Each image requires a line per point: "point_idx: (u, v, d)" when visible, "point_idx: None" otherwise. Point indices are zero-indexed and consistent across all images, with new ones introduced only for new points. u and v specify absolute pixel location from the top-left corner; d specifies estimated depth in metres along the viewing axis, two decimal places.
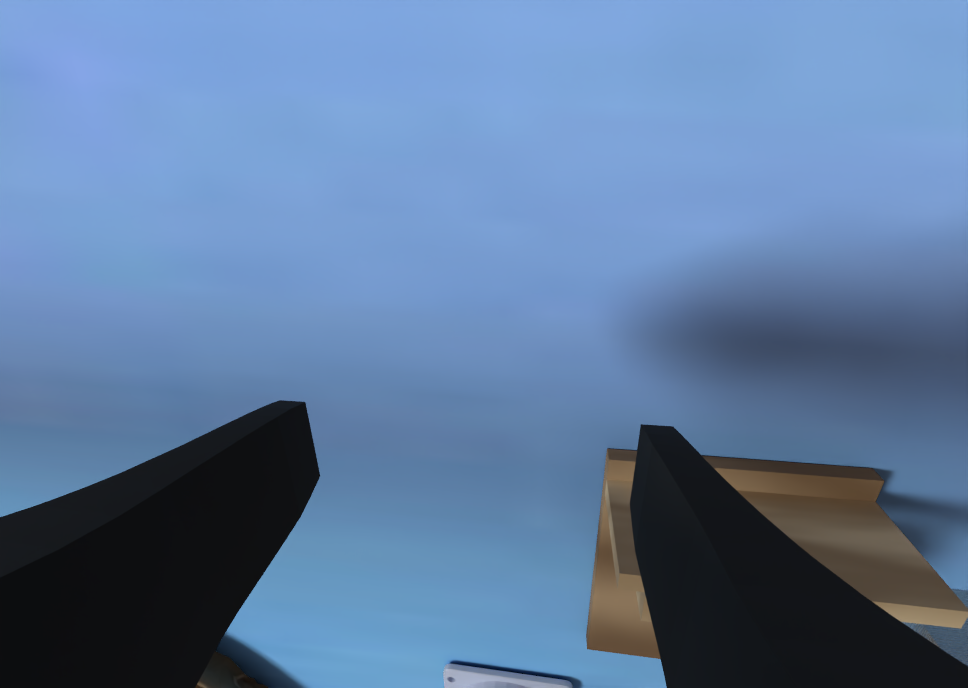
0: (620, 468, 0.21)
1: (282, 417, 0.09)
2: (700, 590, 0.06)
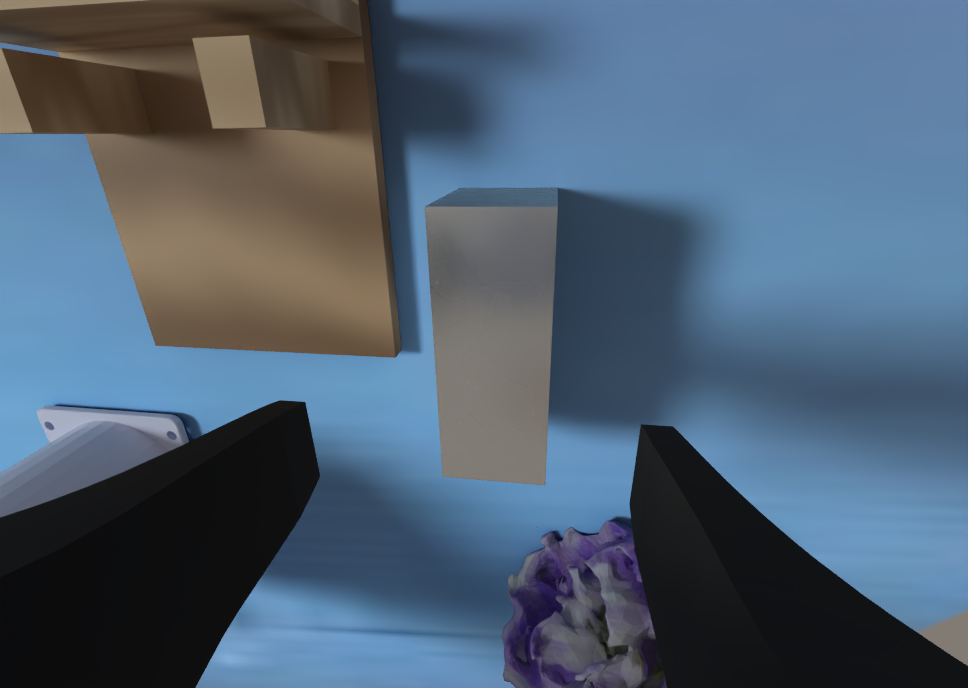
0: None
1: (282, 417, 0.09)
2: (700, 590, 0.06)
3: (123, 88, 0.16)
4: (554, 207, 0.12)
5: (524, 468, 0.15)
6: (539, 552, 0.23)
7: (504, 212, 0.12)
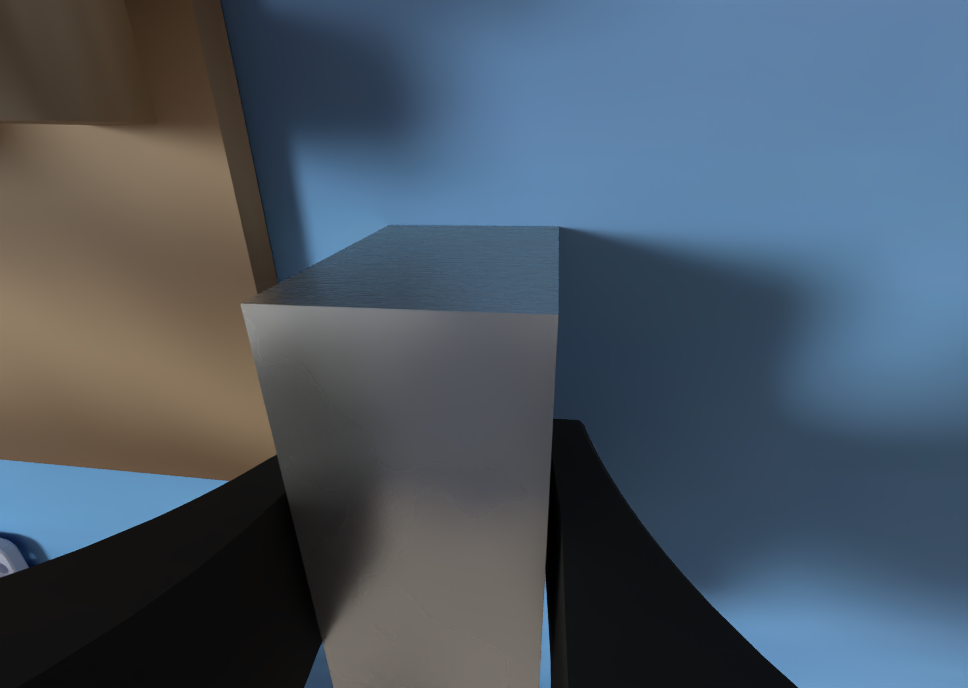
0: None
1: None
2: (558, 574, 0.06)
3: None
4: (550, 315, 0.05)
5: None
6: None
7: (426, 322, 0.05)
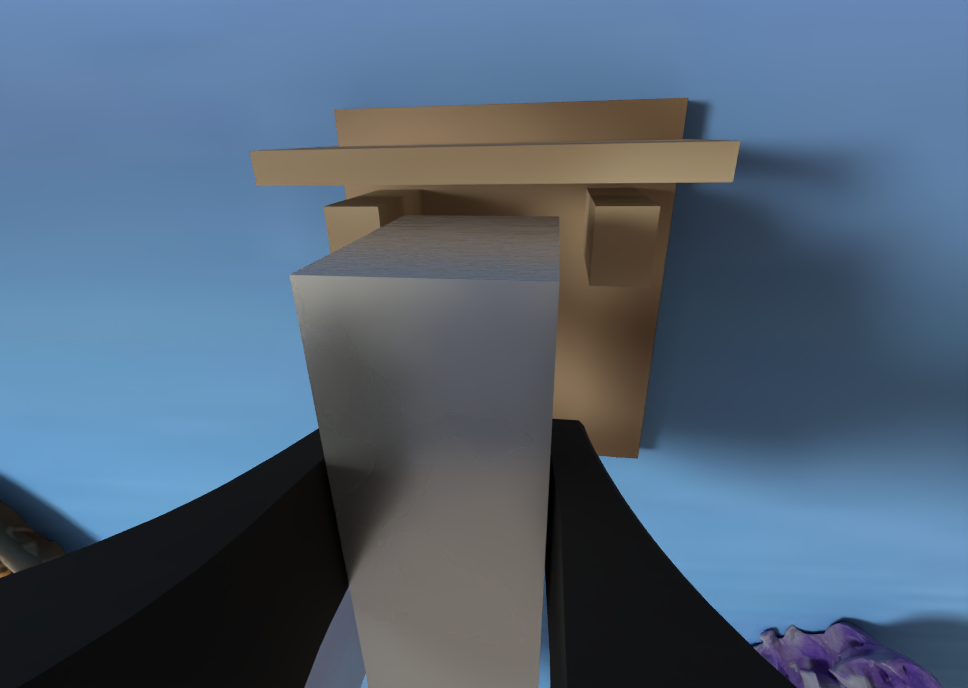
0: (351, 123, 0.15)
1: None
2: (558, 574, 0.06)
3: (417, 211, 0.15)
4: (552, 282, 0.06)
5: None
6: (756, 648, 0.23)
7: (448, 289, 0.06)
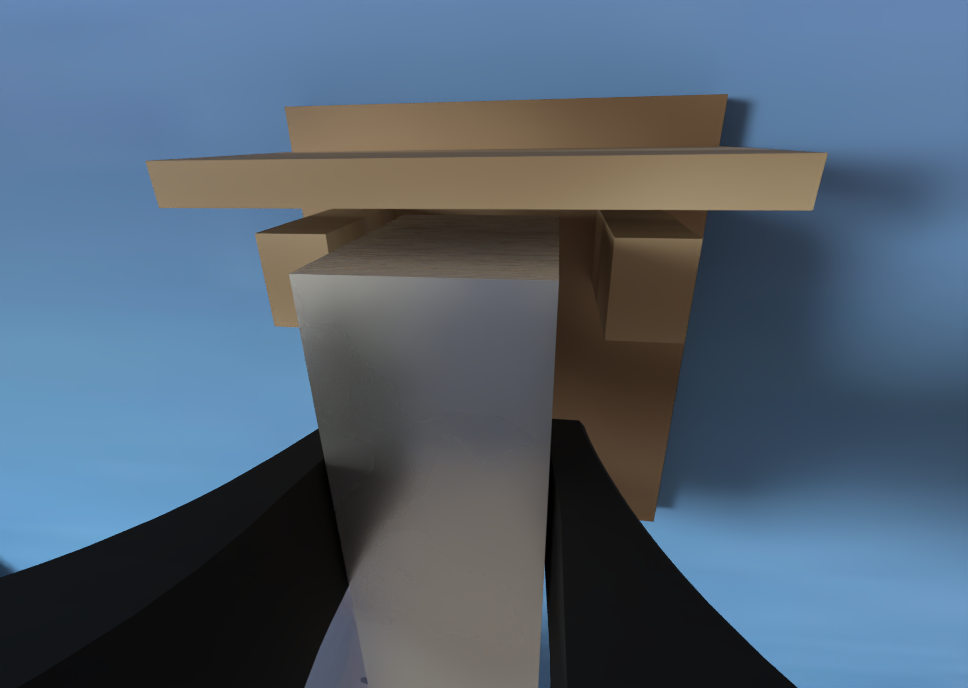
0: (306, 124, 0.12)
1: None
2: (558, 574, 0.06)
3: None
4: (551, 281, 0.06)
5: None
6: None
7: (447, 288, 0.06)
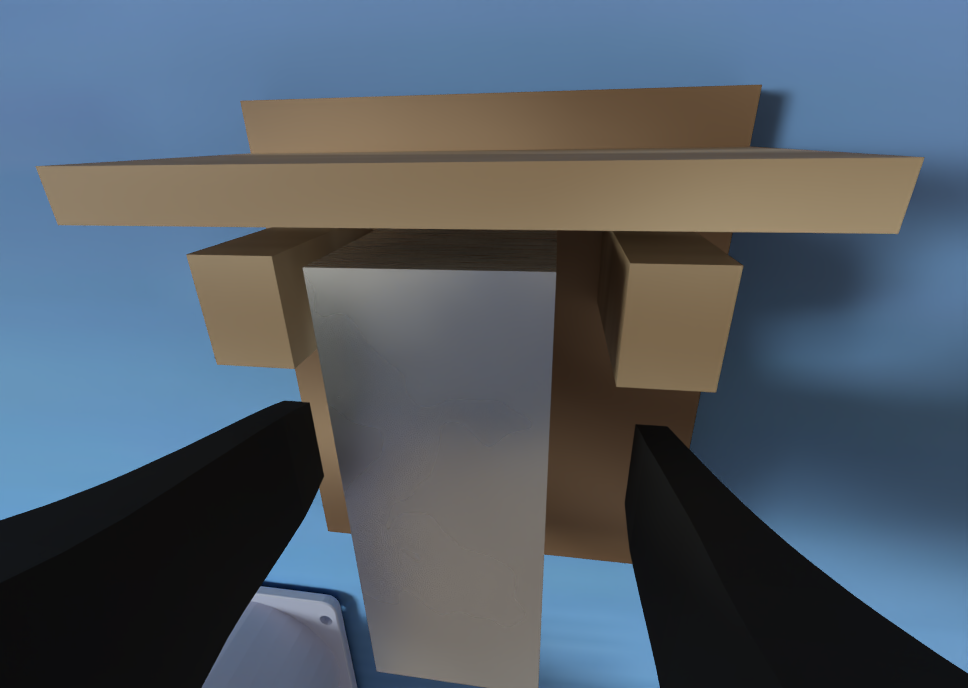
0: (266, 121, 0.11)
1: (287, 417, 0.09)
2: (691, 589, 0.06)
3: None
4: (549, 272, 0.06)
5: (504, 670, 0.09)
6: None
7: (452, 279, 0.06)
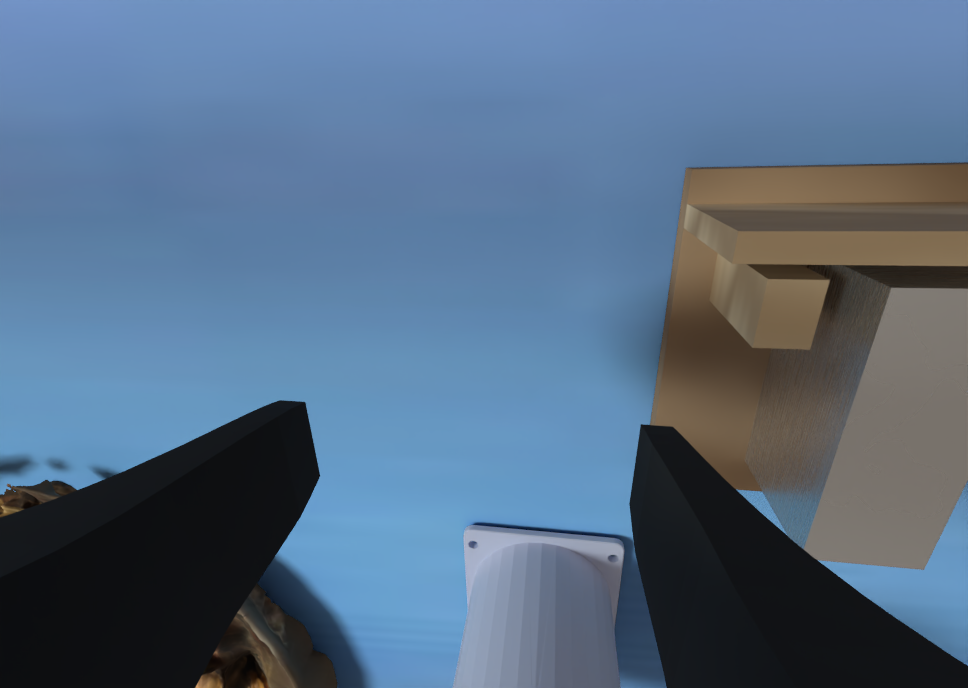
0: (707, 182, 0.15)
1: (282, 417, 0.09)
2: (700, 590, 0.06)
3: None
4: None
5: (905, 552, 0.14)
6: None
7: None
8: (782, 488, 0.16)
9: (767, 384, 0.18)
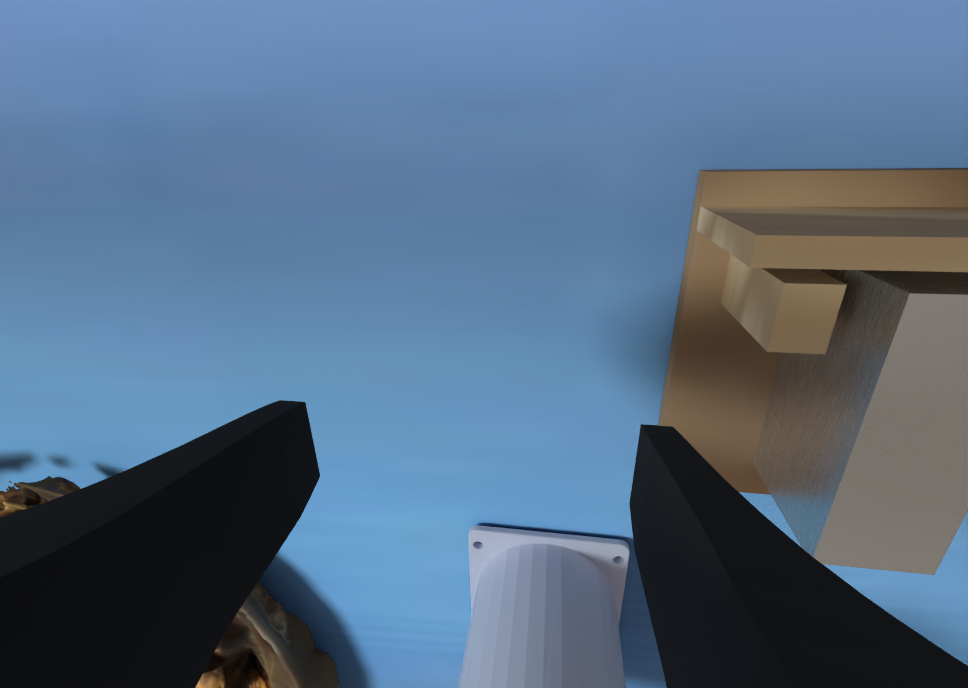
0: (721, 185, 0.15)
1: (282, 417, 0.09)
2: (700, 590, 0.06)
3: None
4: None
5: (915, 557, 0.14)
6: None
7: None
8: (792, 492, 0.16)
9: (777, 387, 0.18)
